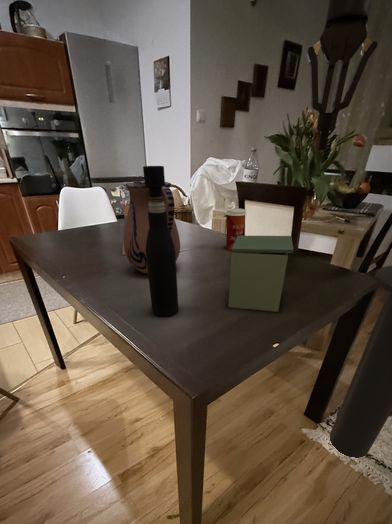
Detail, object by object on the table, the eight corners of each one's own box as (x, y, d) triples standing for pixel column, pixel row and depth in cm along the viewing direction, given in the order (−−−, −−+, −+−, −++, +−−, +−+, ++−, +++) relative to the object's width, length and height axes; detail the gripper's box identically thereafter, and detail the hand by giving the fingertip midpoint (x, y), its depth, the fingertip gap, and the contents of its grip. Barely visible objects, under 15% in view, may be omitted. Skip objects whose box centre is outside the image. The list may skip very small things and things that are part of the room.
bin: (278, 292, 78) (286, 241, 70) (278, 312, 68) (288, 255, 61) (233, 288, 80) (237, 239, 72) (228, 307, 71) (231, 252, 63)
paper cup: (234, 252, 107) (237, 212, 99) (219, 248, 112) (221, 209, 104) (247, 248, 112) (251, 209, 104) (232, 244, 116) (235, 207, 108)
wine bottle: (167, 319, 66) (155, 167, 49) (146, 312, 69) (128, 166, 51) (183, 308, 70) (177, 165, 53) (163, 302, 73) (151, 165, 56)
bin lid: (290, 239, 69) (291, 235, 69) (292, 253, 60) (293, 249, 60) (237, 238, 72) (237, 235, 72) (231, 252, 63) (231, 248, 62)
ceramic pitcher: (157, 257, 103) (150, 178, 89) (200, 271, 91) (199, 182, 77) (117, 270, 93) (101, 183, 78) (159, 287, 81) (149, 188, 67)
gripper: (384, -5, 53) (348, 149, 67) (312, 3, 55) (290, 150, 69) (399, -25, 47) (355, 149, 61) (316, -15, 49) (292, 150, 63)
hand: (321, 149), depth 65 cm, fingers closed
